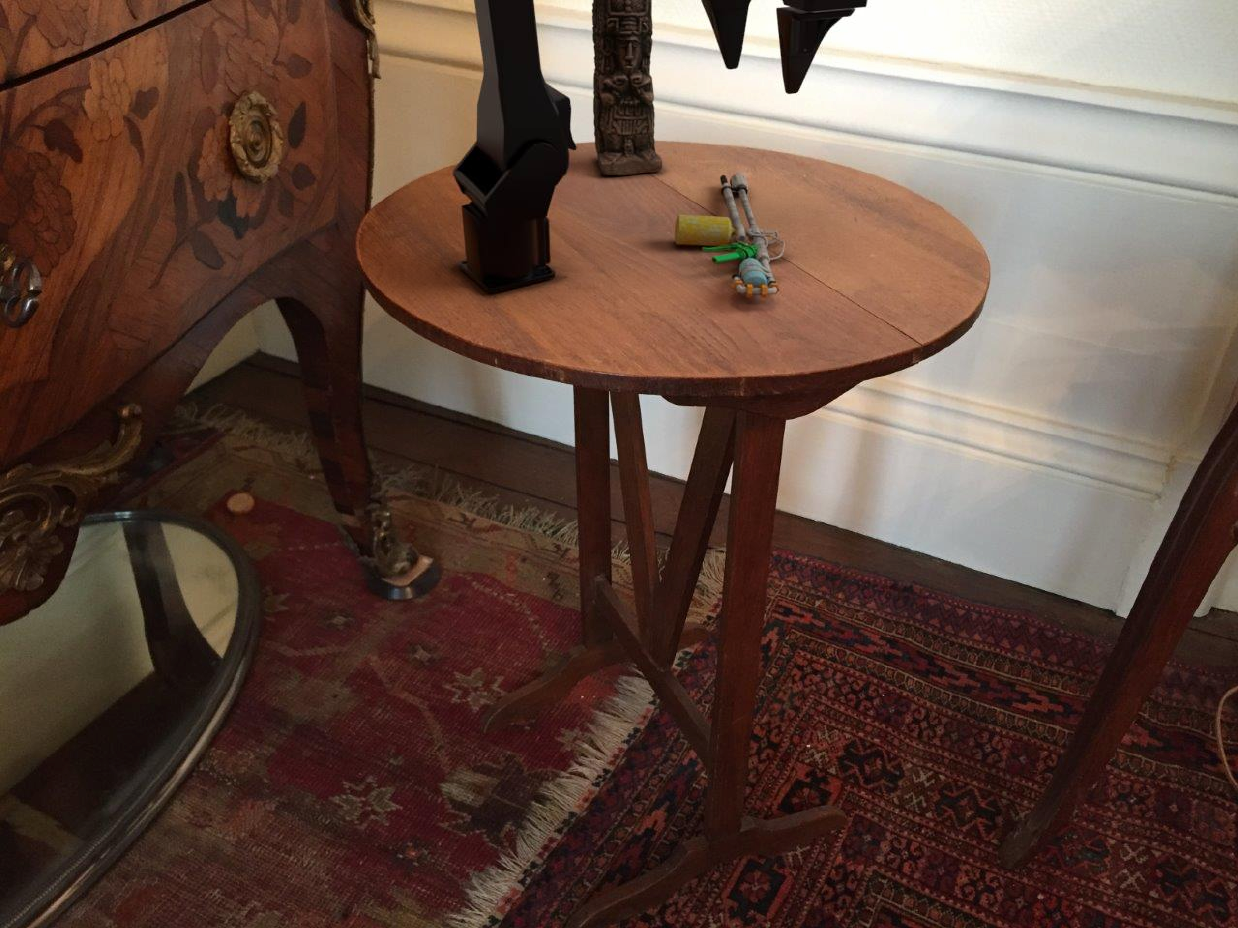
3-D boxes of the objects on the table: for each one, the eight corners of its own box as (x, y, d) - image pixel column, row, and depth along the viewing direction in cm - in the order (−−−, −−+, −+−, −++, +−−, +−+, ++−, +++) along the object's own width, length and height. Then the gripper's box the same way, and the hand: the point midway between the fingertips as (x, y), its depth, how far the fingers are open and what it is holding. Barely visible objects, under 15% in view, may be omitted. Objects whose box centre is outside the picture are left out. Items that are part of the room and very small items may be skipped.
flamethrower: (682, 305, 78) (804, 311, 79) (686, 274, 77) (809, 281, 77) (665, 187, 102) (759, 192, 103) (668, 162, 101) (762, 167, 101)
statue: (602, 178, 104) (601, -26, 93) (588, 157, 110) (586, -38, 98) (663, 173, 106) (669, -29, 94) (646, 153, 111) (650, -40, 99)
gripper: (942, -117, 72) (902, 97, 81) (794, -136, 86) (773, 50, 95) (823, -115, 68) (795, 112, 77) (687, -135, 81) (676, 60, 90)
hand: (760, 80), depth 85 cm, fingers open, 9 cm apart
